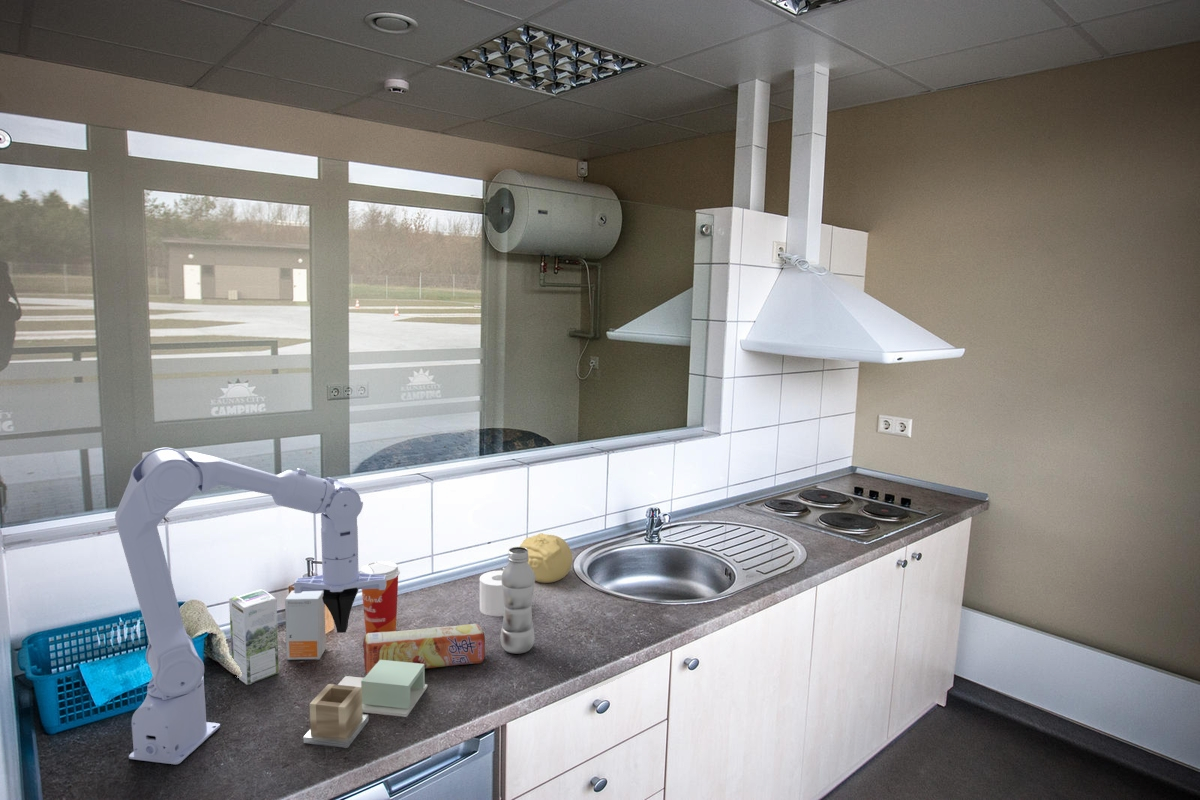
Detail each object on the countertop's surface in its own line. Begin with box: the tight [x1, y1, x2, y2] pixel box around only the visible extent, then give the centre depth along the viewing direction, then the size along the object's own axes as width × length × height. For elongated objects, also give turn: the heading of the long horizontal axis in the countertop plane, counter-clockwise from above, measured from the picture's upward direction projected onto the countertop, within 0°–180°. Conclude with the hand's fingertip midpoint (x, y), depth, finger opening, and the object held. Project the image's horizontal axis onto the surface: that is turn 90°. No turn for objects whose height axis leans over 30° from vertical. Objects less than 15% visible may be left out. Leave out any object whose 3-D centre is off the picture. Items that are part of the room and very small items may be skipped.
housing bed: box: [337, 675, 428, 718], centre depth 121 cm, size 9×15×2 cm, turn 82°
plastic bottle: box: [499, 546, 536, 655], centre depth 136 cm, size 6×7×20 cm
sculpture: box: [519, 532, 573, 584], centre depth 172 cm, size 12×12×11 cm
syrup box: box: [228, 588, 280, 686], centre depth 126 cm, size 6×6×14 cm
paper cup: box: [359, 560, 401, 635], centre depth 142 cm, size 8×8×14 cm
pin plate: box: [302, 713, 370, 749], centre depth 111 cm, size 7×7×4 cm
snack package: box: [362, 623, 486, 675], centre depth 131 cm, size 21×7×7 cm, turn 108°
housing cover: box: [361, 660, 426, 709], centre depth 120 cm, size 7×8×4 cm
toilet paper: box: [479, 567, 506, 617], centre depth 157 cm, size 8×11×7 cm
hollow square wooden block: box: [309, 683, 364, 738], centre depth 111 cm, size 6×6×5 cm
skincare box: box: [284, 590, 327, 661], centre depth 133 cm, size 6×4×12 cm
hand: (342, 630), depth 122 cm, fingers closed
